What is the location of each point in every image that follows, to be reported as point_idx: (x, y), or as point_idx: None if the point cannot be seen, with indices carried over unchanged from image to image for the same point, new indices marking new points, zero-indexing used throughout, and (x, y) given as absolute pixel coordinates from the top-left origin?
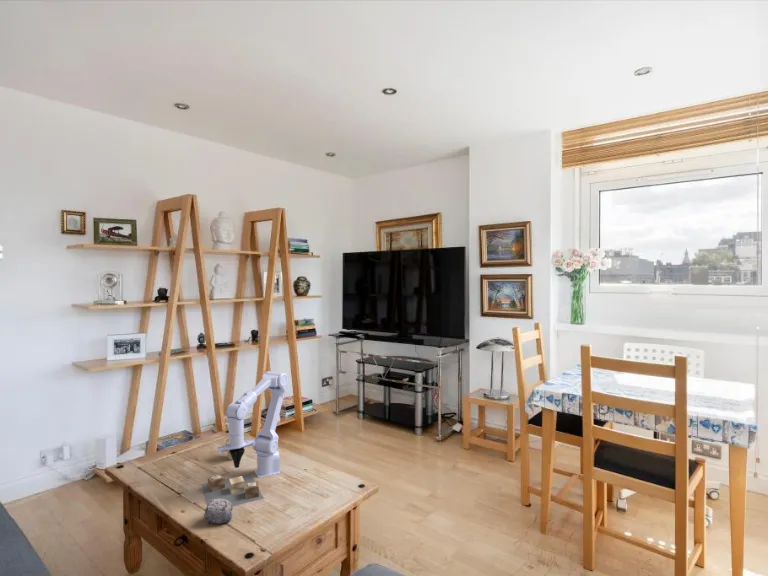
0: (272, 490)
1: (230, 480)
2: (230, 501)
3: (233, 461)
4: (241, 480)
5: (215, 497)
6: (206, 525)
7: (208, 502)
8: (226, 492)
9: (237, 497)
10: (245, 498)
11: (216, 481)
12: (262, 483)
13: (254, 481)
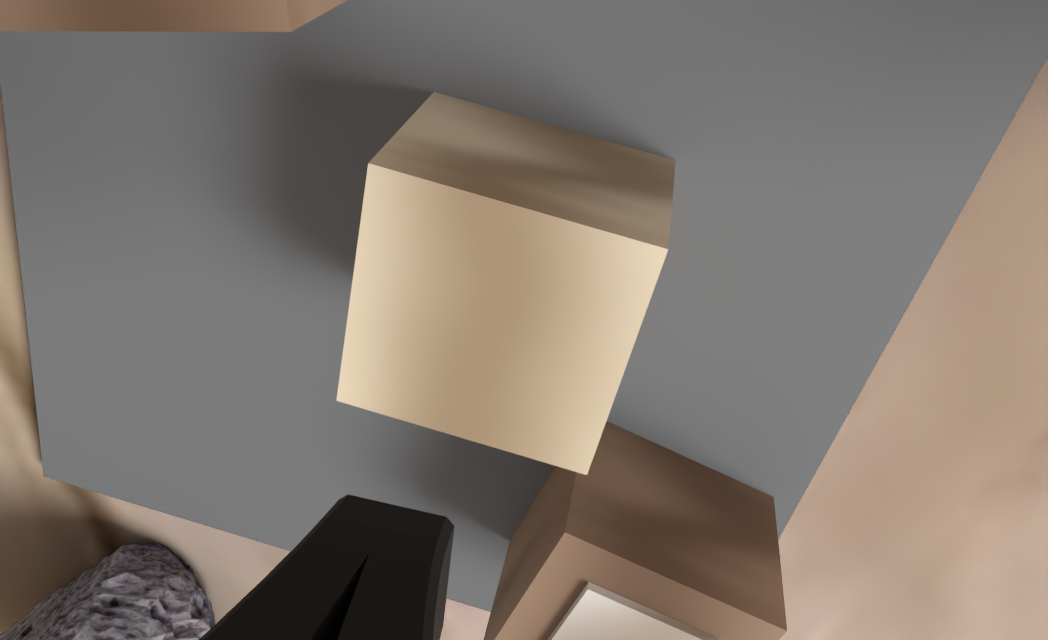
0: (947, 592)
1: (368, 258)
2: (325, 457)
3: (247, 607)
4: (555, 418)
5: (159, 214)
6: (26, 612)
7: (51, 276)
8: (348, 192)
9: (439, 441)
10: (510, 546)
11: (99, 28)
12: (1027, 319)
13: (723, 605)
